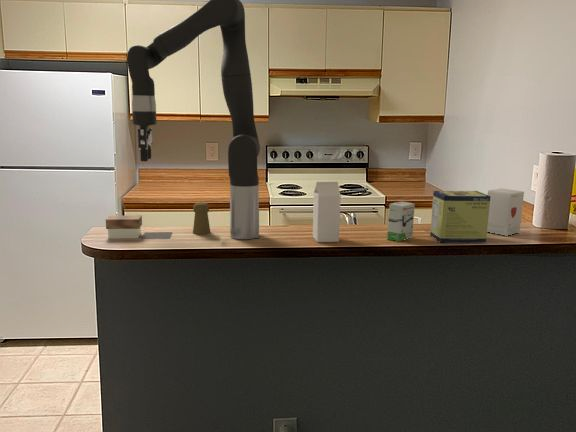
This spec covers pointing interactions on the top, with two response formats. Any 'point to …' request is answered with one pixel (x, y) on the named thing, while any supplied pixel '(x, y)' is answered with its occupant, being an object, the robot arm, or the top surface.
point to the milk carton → (326, 212)
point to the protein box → (460, 216)
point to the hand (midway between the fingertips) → (146, 160)
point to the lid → (124, 222)
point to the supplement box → (505, 211)
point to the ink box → (400, 221)
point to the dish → (124, 233)
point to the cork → (201, 219)
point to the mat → (157, 235)
